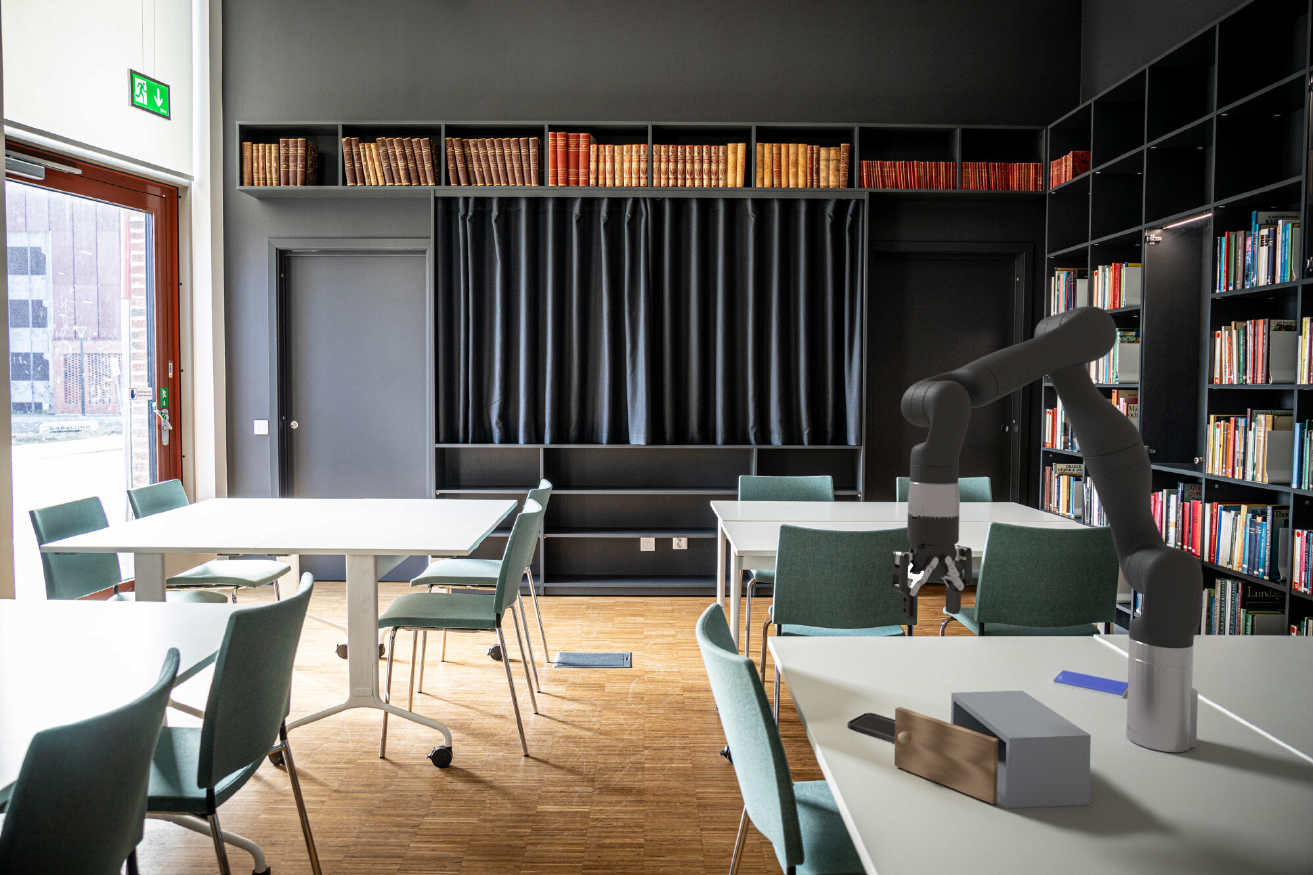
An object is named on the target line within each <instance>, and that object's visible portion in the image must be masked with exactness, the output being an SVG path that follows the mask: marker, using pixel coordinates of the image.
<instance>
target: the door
mask: <svg viewBox="0 0 1313 875" xmlns="http://www.w3.org/2000/svg"><path fill="white" fill-rule="evenodd" d="M894 711H895V712H894V720H895V744H894V763H893V764H894V766H895V767H898V768H900V769H903V770H905V771H908V772H910V773H912V774H915V775H918V776H921V777H923V778H926V779H928V780H931V781H933V782H936V783H938V784H941V785H943V786H946V787H949V788H951V789H953V790H956V791H958V792H962V793H963V794H966V795H969V796H971V797H974V798H976V799H979V800H982V801H984V802H987V803H989V804H991V805H993V804H995V803H997V802H998V798H997V779H998V739H996V738H993V737H990V736H987V735H984V734H981V733H978V732H975V731H972V730H969V729H966V728H963V727H960V726H957V725H953V724H951V722H946V721H945V720H944V721H943V720H940V719H938V718H934V717H932V716H929V715H925V714H923V713H920V712H916V711H913V710H911V709H908V708H905V707H901V706H898V707H896V708H894Z"/></svg>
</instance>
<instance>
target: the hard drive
mask: <svg viewBox="0 0 1313 875" xmlns="http://www.w3.org/2000/svg"><path fill="white" fill-rule="evenodd" d="M1052 682H1053V683H1052V684H1053V685H1055V686H1061V687H1064V688H1070V689H1074V690H1075V689H1076V690H1080V691H1085V692H1089V693H1095V694H1100V695H1104V696H1108V697H1110V696H1111V697H1114V698H1119V699H1123V698H1124V697H1125V695H1126V693H1127V692H1128V681H1127V682H1126V681H1120V680H1115V679H1110V678H1105V677H1100V676H1096V675H1095V676H1094V675H1089V674H1085V673H1080V672H1075V671H1071V670H1070V671H1069V670H1065V669H1062V671H1060V672H1059V673H1058V674H1057V675H1056V677H1055V678H1054V679H1053V681H1052Z"/></svg>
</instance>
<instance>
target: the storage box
mask: <svg viewBox="0 0 1313 875" xmlns="http://www.w3.org/2000/svg"><path fill="white" fill-rule="evenodd" d="M950 697H951V698H950V699H951V700H950V704H951V706H950V724H953V725H957V726H960V727H963V728H966V729H969V730H972V731H975V732H978V733H981V734H984V735H987V736H990V737H993V738H996V739H998V779H997V800H999V801H1000V802H1001V803H1002V804H1003V805H1004V806H1005V807H1006V808H1007V809H1018V808H1021V809H1023V808H1038V807H1039V808H1042V807H1063V806H1086V805H1090V788H1091V787H1090V785H1091V784H1090V781H1091V779H1090V776H1091V742H1092V741H1091V738H1092V734H1090V733H1088V732H1087V731H1085V730H1084V729H1082V728H1080V727H1078V726H1077V725H1076V724H1075V723H1073V722H1071V721H1070V720H1068V719H1067V718H1065V717H1063V716H1062V715H1061V714H1059V713H1058V712H1056V711H1054V710H1053V709H1052V708H1050V707H1048V706H1047V705H1046V704H1044V703H1042V702H1041V701H1040V700H1037V699H1035V698H1034V697H1033V696H1031V695H1030V694H1028V693H1027V692H1025V691H1023V690H997V691H970V692H969V691H967V692H965V691H963V692H960V691H959V692H958V691H957V692H951V696H950Z"/></svg>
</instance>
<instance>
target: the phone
mask: <svg viewBox="0 0 1313 875" xmlns="http://www.w3.org/2000/svg"><path fill="white" fill-rule="evenodd" d="M847 728H848V730H851V731H854V732H857V733H860V734H863V735H866V736H870V737H872V738H875V739H877V740H878V739H879V740H882V741H884V742H888V743H890V744H894V745H895V718H890V717H887V716H884V715H880V714H877V713H874V712H864V713H863V714H861V715H859V716H857V717H855V718H853V719H851V720H849V721H848V722H847Z"/></svg>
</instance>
